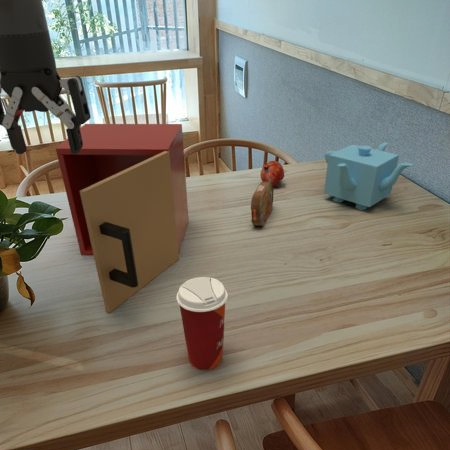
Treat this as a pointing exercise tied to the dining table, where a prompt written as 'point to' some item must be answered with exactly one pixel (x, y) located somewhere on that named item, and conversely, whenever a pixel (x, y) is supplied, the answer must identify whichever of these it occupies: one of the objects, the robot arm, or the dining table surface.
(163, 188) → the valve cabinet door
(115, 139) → the cabinet
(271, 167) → the pomegranate
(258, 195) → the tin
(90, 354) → the dining table surface
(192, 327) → the paper cup
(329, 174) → the teakettle
